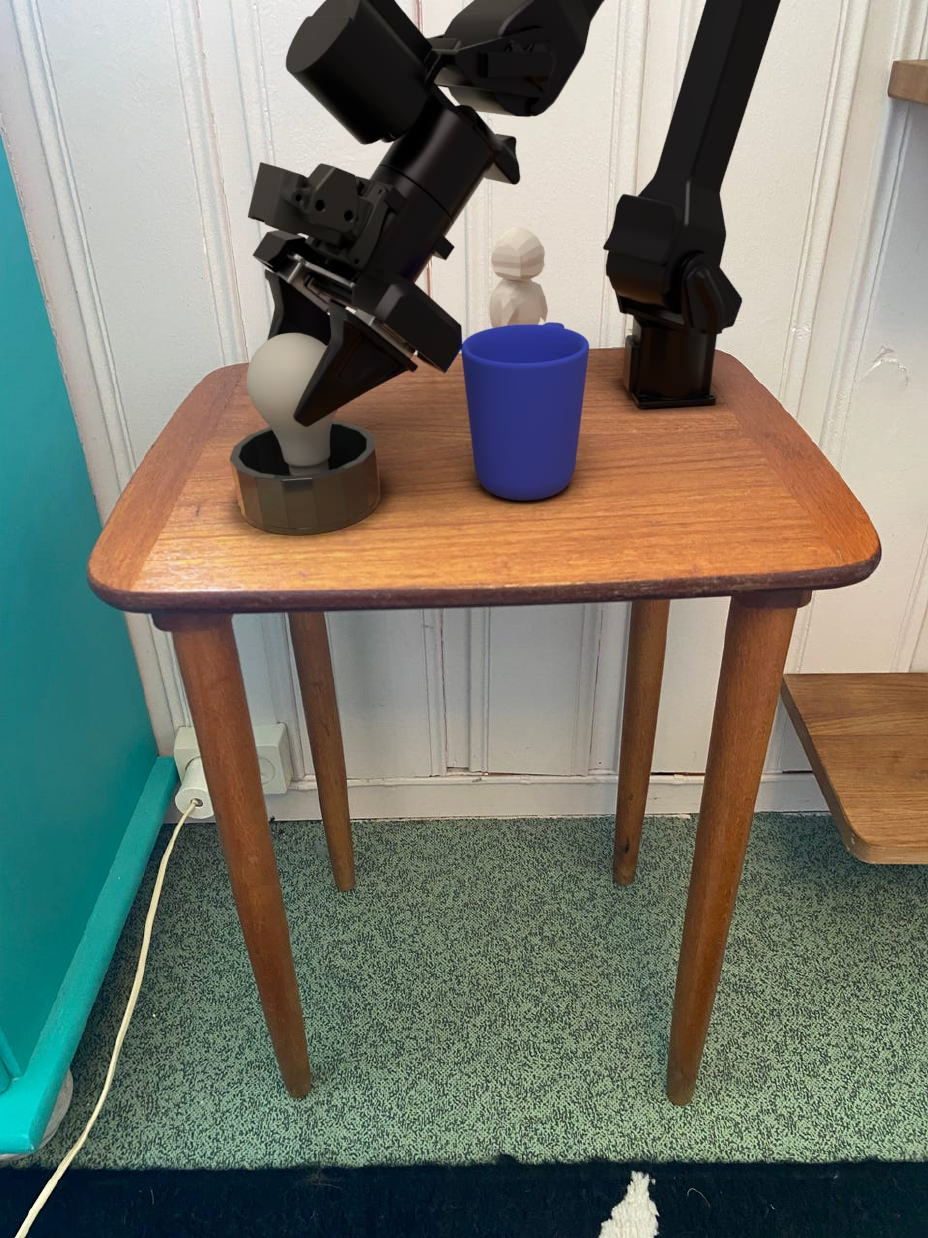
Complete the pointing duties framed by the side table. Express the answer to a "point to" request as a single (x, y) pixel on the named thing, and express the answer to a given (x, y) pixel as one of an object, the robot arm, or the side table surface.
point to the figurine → (517, 280)
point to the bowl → (307, 483)
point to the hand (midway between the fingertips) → (278, 407)
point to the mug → (525, 406)
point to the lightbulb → (290, 399)
